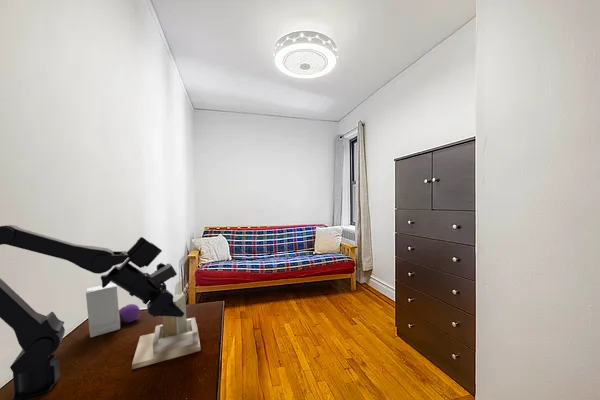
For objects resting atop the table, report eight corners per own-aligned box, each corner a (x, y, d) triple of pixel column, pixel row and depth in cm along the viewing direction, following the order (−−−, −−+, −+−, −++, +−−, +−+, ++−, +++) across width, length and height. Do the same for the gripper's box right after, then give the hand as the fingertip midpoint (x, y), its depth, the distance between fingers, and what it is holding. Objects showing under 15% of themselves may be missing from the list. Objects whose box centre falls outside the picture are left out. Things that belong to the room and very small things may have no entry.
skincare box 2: (173, 334, 80) (171, 294, 80) (188, 333, 80) (185, 293, 80) (162, 345, 73) (160, 302, 73) (178, 345, 73) (175, 301, 73)
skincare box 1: (119, 323, 92) (117, 281, 92) (120, 330, 87) (118, 285, 87) (89, 331, 87) (87, 287, 87) (88, 338, 82) (85, 291, 82)
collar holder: (132, 369, 65) (131, 352, 65) (140, 340, 80) (139, 326, 80) (200, 350, 72) (199, 335, 72) (196, 326, 86) (196, 314, 86)
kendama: (114, 300, 105) (144, 303, 95) (113, 316, 103) (142, 320, 94) (97, 302, 100) (126, 306, 90) (95, 319, 98) (124, 324, 89)
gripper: (161, 261, 67) (207, 294, 73) (153, 252, 82) (192, 280, 88) (125, 300, 62) (178, 331, 68) (124, 283, 78) (167, 309, 84)
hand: (180, 310), depth 77 cm, fingers open, 9 cm apart
